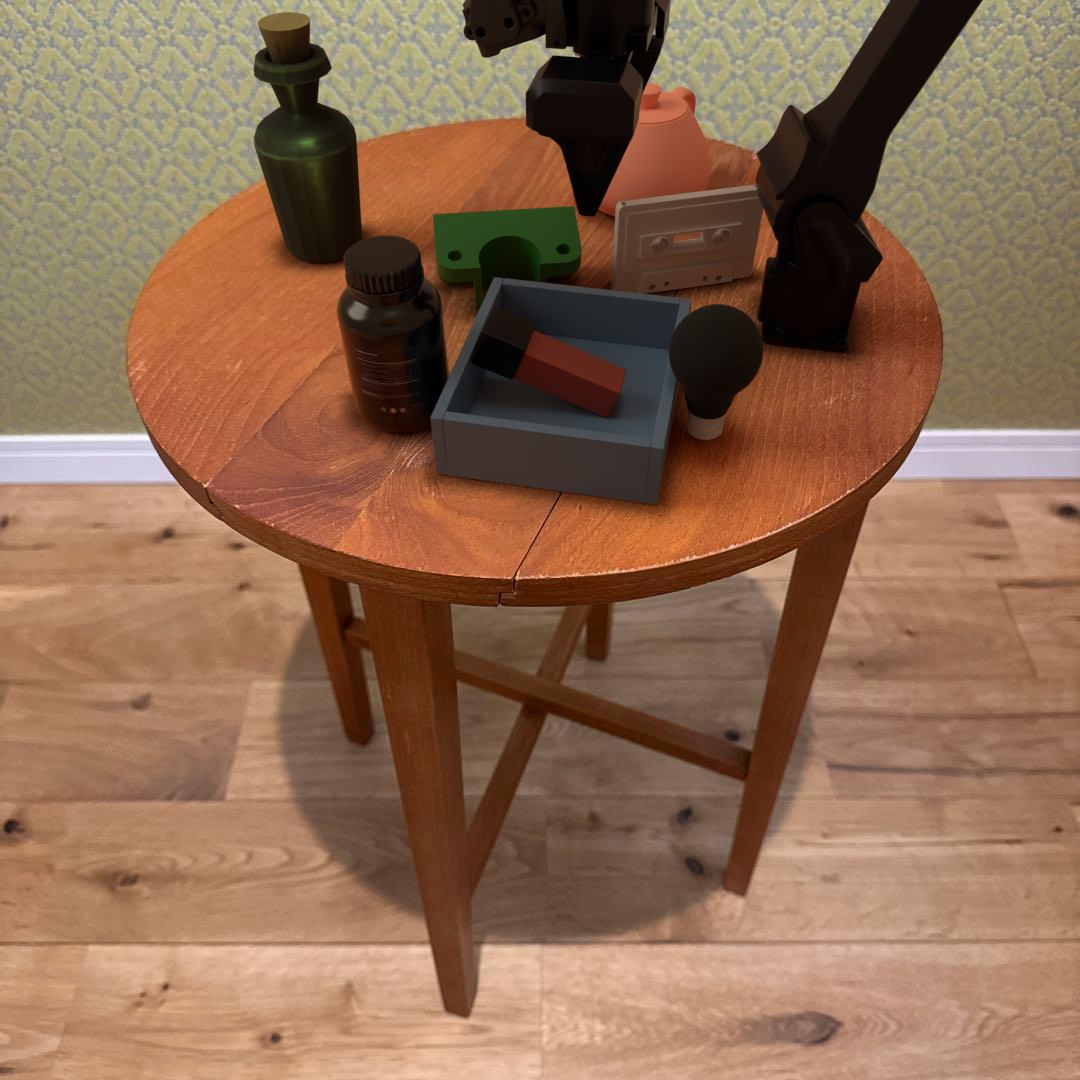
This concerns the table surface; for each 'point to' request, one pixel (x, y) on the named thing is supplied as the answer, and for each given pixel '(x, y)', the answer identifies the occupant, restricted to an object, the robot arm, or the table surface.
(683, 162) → the sugar bowl
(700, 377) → the light bulb
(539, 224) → the clamp
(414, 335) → the supplement bottle
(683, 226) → the cassette
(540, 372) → the red bar
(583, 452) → the bin
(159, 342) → the table surface
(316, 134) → the potion bottle
